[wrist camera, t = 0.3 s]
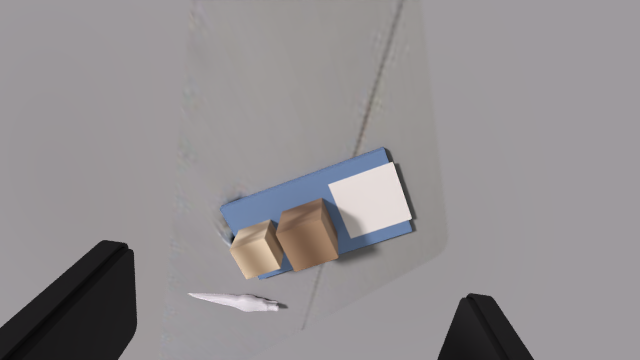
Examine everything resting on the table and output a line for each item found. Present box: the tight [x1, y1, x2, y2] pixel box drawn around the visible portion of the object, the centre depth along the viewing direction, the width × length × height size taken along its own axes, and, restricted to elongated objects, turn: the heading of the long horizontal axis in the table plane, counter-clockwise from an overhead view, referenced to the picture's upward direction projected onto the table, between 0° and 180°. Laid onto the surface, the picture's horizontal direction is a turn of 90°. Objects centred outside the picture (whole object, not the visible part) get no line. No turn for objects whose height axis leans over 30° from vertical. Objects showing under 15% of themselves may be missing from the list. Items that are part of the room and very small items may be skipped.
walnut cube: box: [276, 198, 338, 272], centre depth 45 cm, size 6×6×6 cm
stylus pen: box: [188, 293, 279, 312], centre depth 55 cm, size 15×3×2 cm, turn 84°
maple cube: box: [230, 219, 284, 279], centre depth 47 cm, size 5×5×5 cm
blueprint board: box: [220, 147, 412, 279], centre depth 48 cm, size 24×13×1 cm, turn 112°
